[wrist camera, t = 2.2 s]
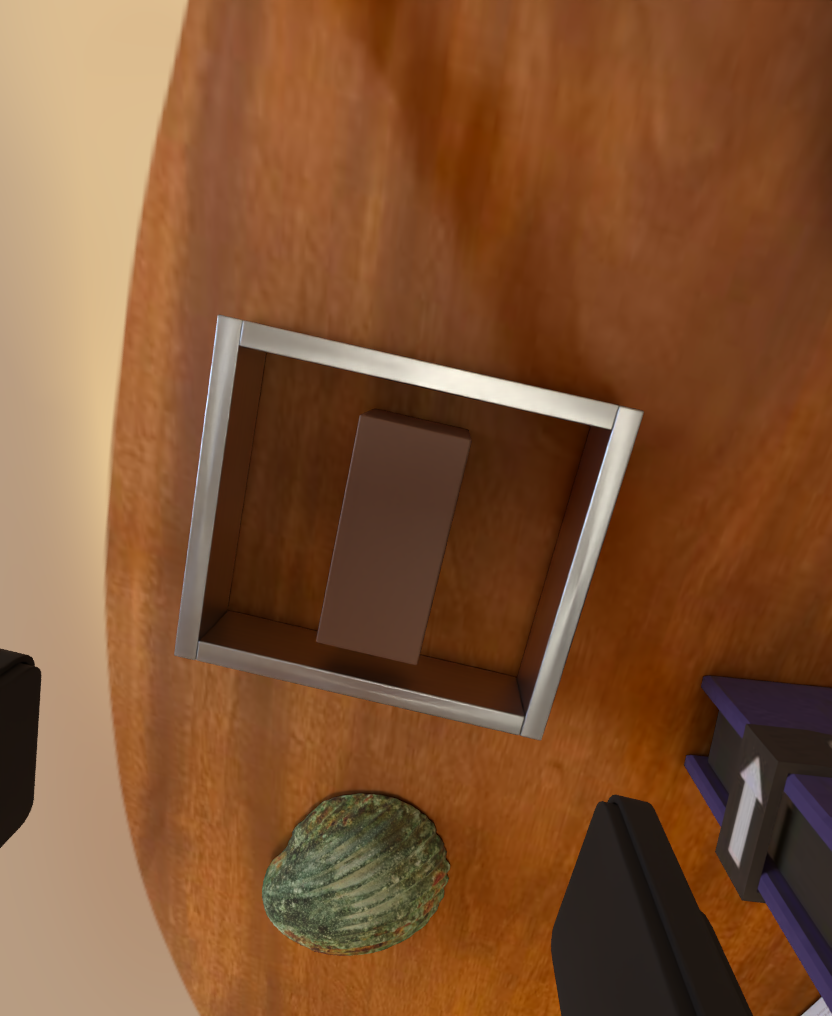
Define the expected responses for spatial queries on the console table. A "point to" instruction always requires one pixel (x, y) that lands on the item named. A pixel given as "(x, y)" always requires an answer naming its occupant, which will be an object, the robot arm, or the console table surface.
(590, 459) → the rectangular frame
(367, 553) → the brown rectangular block
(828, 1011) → the small box
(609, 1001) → the robot arm
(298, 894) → the seashell
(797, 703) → the book
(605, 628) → the console table surface
